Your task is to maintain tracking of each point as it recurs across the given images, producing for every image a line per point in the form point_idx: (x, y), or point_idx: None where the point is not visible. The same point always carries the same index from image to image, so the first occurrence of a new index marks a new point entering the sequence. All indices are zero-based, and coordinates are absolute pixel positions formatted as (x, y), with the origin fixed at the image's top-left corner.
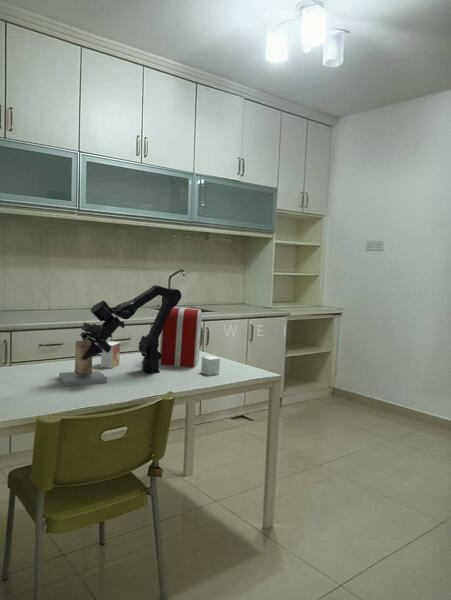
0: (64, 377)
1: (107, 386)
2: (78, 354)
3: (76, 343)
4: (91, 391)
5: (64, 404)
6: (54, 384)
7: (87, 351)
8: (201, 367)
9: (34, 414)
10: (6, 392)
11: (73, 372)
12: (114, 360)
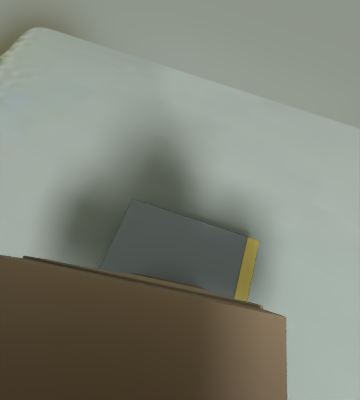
0: (181, 222)
1: None
2: (140, 278)
3: (220, 299)
4: (18, 246)
5: (2, 123)
6: (180, 189)
7: None
8: None
9: (13, 59)
10: (189, 75)
11: None
12: None
